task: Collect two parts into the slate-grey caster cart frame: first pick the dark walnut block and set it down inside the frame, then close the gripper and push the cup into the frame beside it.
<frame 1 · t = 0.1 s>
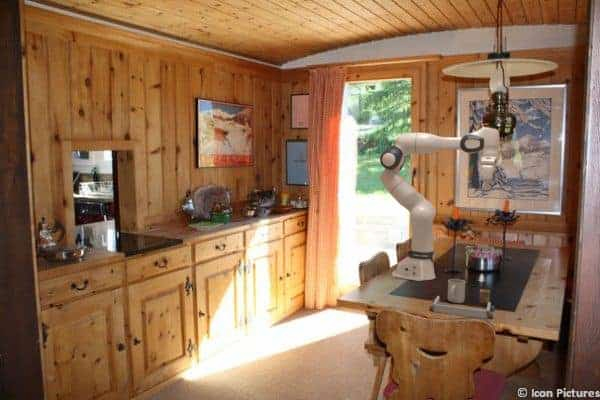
hand: (487, 188, 246), 48 cm above the table, fingers open, 8 cm apart
walnut block: (484, 301, 222), on the table
cup: (454, 301, 222), on the table
cart frame: (461, 310, 210), on the table
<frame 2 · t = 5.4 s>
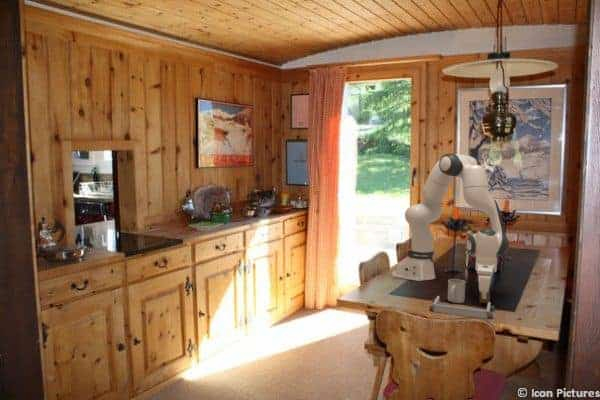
hand: (484, 296, 221), 2 cm above the table, fingers closed on walnut block, 4 cm apart
walnut block: (484, 301, 222), on the table, touching gripper
everything else where it was.
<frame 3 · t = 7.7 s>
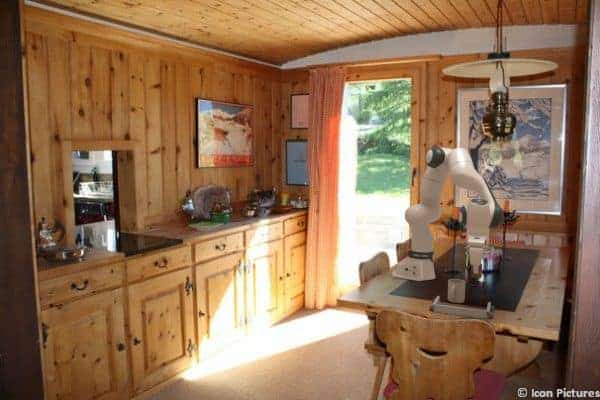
hand: (476, 271, 206), 17 cm above the table, fingers closed on walnut block, 4 cm apart
walnut block: (476, 276, 207), point 15 cm above the table, touching gripper
everything else where it was.
when the fingers open (4 cm above the table, at t = 10.0 s): walnut block drops 2 cm, on the table.
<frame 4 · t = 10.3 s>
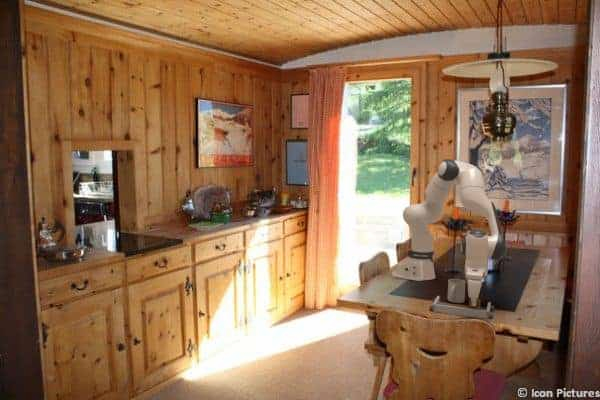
hand: (474, 302, 208), 4 cm above the table, fingers open, 7 cm apart
walnut block: (474, 311, 208), on the table
everything else where it was.
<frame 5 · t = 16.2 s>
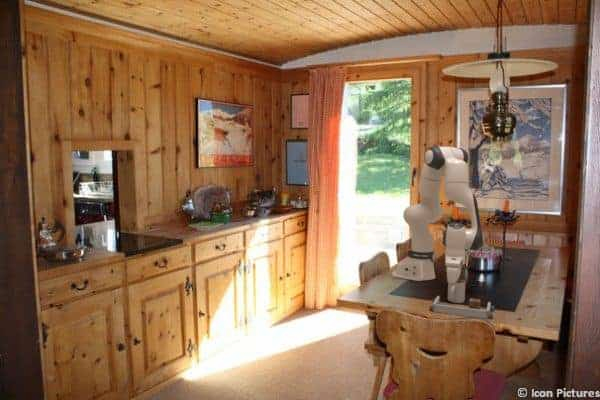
hand: (454, 288, 229), 4 cm above the table, fingers closed
cup: (454, 301, 222), on the table, touching gripper
everything else where it was.
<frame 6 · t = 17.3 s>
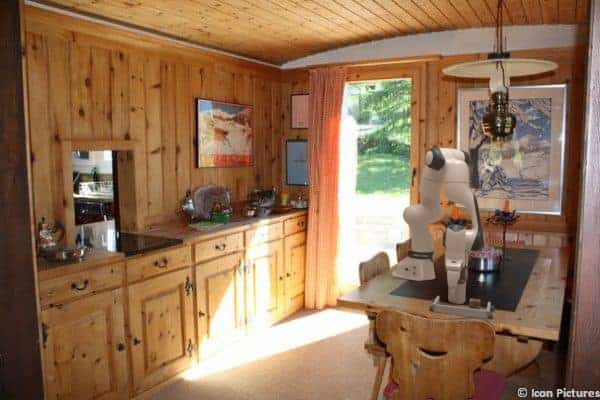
hand: (454, 290, 226), 3 cm above the table, fingers closed, pressing on cup
cup: (455, 302, 220), on the table, touching gripper
everything else where it was.
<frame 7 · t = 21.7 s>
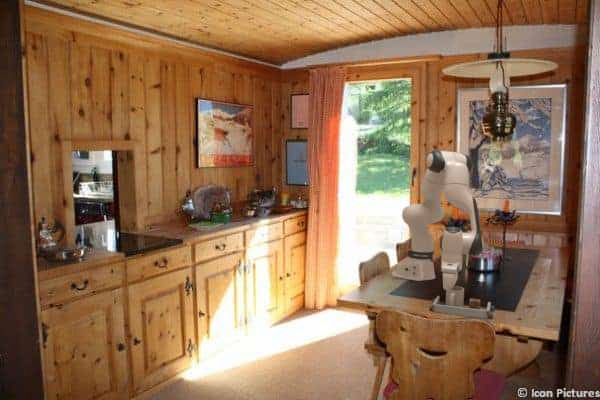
hand: (450, 294, 220), 3 cm above the table, fingers closed
cup: (453, 310, 211), on the table
everything else where it was.
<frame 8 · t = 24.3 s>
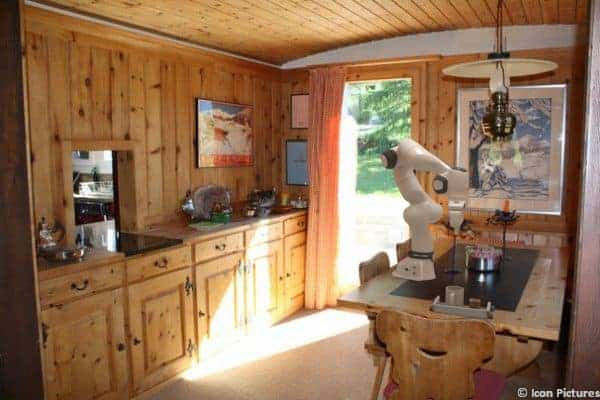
hand: (456, 234, 224), 29 cm above the table, fingers closed
nothing on the table moved.
at the end: cup inside the target area (3.2 cm from its centre), on the table; walnut block inside the target area (5.0 cm from its centre), on the table; cup tilted 0° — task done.
